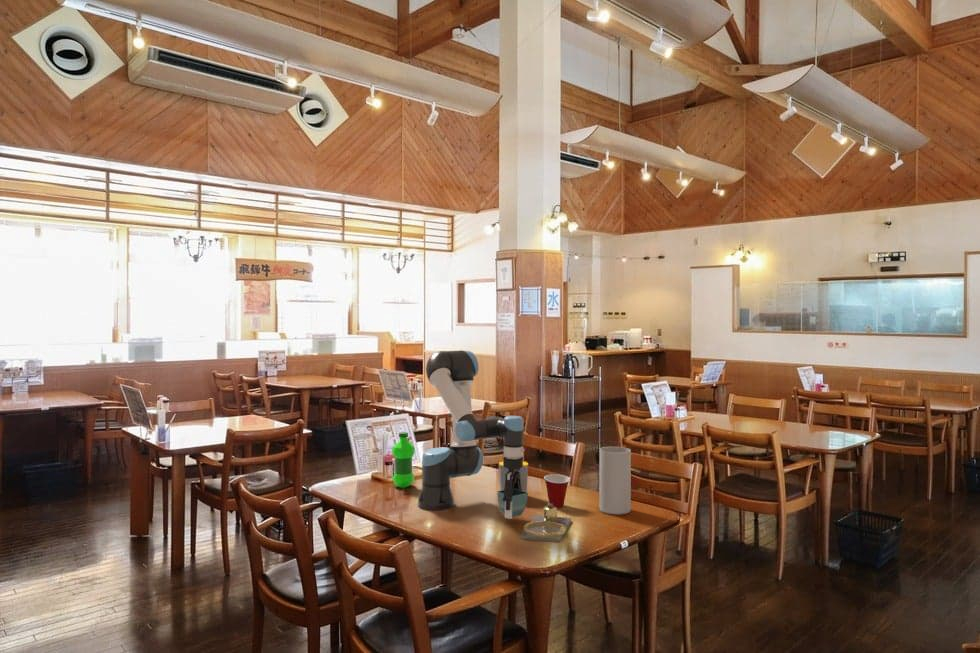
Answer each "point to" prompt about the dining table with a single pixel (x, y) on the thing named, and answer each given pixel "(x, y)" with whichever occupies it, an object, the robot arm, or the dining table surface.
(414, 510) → the dining table surface
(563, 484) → the plastic cup
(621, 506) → the cylinder vase
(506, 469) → the soap bottle
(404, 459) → the plastic bottle
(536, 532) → the board
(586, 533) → the dining table surface
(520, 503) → the flower pot
